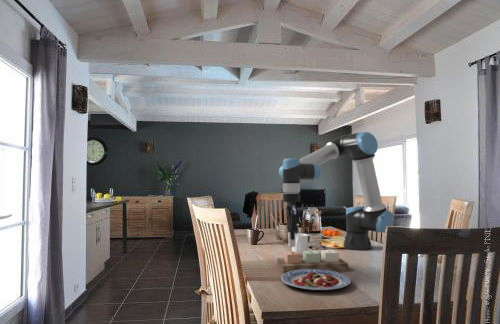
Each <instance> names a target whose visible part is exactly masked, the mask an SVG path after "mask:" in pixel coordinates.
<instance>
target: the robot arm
mask: <svg viewBox="0 0 500 324" xmlns="http://www.w3.org/2000/svg"><path fill="white" fill-rule="evenodd" d="M378 143H379V142H378V140H377V138H376V137H375V136H374V135H373V134H372V133H371V132H369V131H368V132H367V131H364V132H363V131H361V132H355V133H354V132H353V133H349V134H344V135H341V136H339V137H337V138H335V139H333V140H331V141H329V142H327V143H326V144H325V145H324V146H323V147H321V148H319V149H317V150H315V151H313V152H311V153H309V154H307V155H305V156H303V157H301V158H300V159H299V158H294V157H293V158H292V157H290V158H288V157H287V158H284V159H283V161H282V165H281V166H280V167H279V169H278V176H279V177H280V178H281V179H282V185H281V188H282V192H283V193H282V194H283V195H282V201H283V202H284V203H287V204H286V205H287V206H286V207H285V213H286V227H287V228H286V229H287V232H288V233H287V235H288V247H289V248H292V247H295V234H296V232H297V229H298V227H297V226H298V213H299V210H298V206H297V204H296V203H300V202H301V181H306V180H307V181H308V180H309V181H313V180H314V181H315V180H318V179H319V178H320V177H321V175H322V169H321V165H323V164H324V163H326V162H329V161H330V160H336V159H338V158H341V157H348V156H349V157H351V161H352V162H353V163H355V165H356V170H357V174H358V179H359V183H360V188H361V192H362V196H363V200H364V201H363V202H364V206H362V205H361V206H351V207H347V208H346V209H345V224H346V225H345V226H346V232H345V237H344V240H343V248H344V249H348V250H352V251H353V250H354V251H366V250H371V249H372V247H373V246H372V242H371V239H370V237H369V232H370V231H371V232H373V233H374V232H375V233H384V234H385V233H386V232H385V229H386V226H392V227H393V225H394V214H393V213H392V211H391V210H388V209H387V206H386V204H384V202H383V200H382V197H381V196H382V195H381V192H380V188H379V183H378V178H377V173H376V169H375V163H374V159H375V157H376V152H378V147H379V144H378Z"/></svg>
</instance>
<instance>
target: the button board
mask: <svg viewBox="0 0 500 324" xmlns="http://www.w3.org/2000/svg"><path fill="white" fill-rule="evenodd" d="M276 261H277V266H278V268H279V267H280V268H279V269H280V270H281V272H282V273H283V274H285V273H287V272H290V271H294V270H301V269H321V270H330V271H335V272H345V271H349V263H348V262H347V261H345V260H344V259H341V257H339V262H324V261H323V260H321V256H320V262H316V263H306V262H304V261H303V256H301V263H291V264H287V263H286V262H285V257H277V260H276Z"/></svg>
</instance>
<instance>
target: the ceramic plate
mask: <svg viewBox="0 0 500 324" xmlns="http://www.w3.org/2000/svg"><path fill="white" fill-rule="evenodd" d="M280 280H281V281H282V282H283V283H285V284H287V285H288V286H290V287H295V288H299V289H301V290H302V289H303V290H306V289H307V291H308V290H309V291H316V290H323V291H330V290H337V289H342V288H344V287H345V288H346V287H347V286H349V285H350V284H351V282H352V280H351V278H350V277H349V276H348V275H346V274H344V273H342V272H340V271H330V270H321V269H301V270H294V271H290V272H287V273H283V274H282V275H281V278H280Z"/></svg>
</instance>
